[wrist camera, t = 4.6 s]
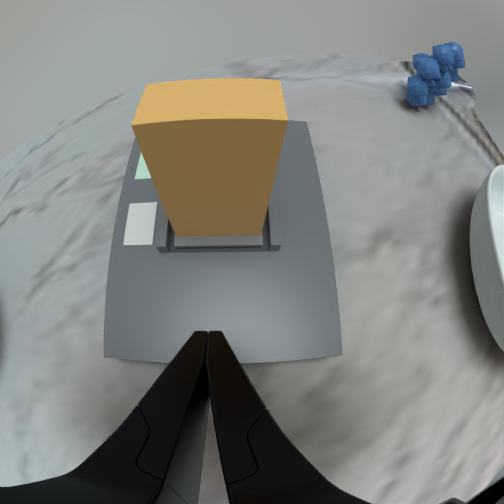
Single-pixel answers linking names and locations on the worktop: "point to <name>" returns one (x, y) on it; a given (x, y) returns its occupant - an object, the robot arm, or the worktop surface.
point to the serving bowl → (489, 251)
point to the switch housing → (225, 273)
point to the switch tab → (213, 155)
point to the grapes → (434, 73)
